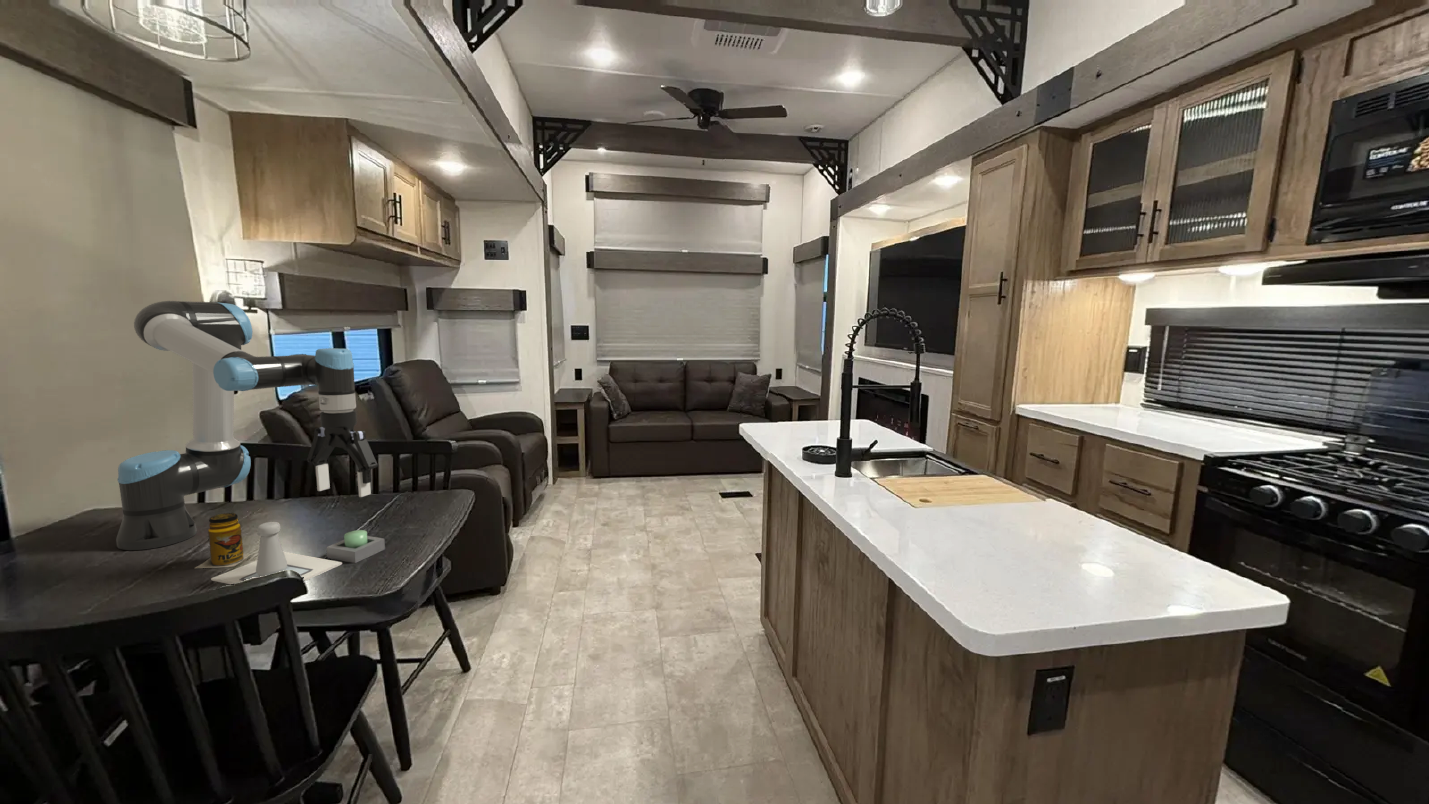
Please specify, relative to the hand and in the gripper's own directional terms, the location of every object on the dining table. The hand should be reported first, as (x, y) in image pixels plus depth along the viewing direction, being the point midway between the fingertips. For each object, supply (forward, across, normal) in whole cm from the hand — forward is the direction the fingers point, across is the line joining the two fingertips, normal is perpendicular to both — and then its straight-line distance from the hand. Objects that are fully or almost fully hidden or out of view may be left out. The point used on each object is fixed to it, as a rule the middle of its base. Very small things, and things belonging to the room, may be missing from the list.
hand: (344, 492), depth 138 cm
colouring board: (+17, -8, -12) cm, 22 cm away
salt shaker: (+17, -6, -15) cm, 23 cm away
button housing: (+17, 0, +2) cm, 18 cm away
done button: (+16, 0, +2) cm, 16 cm away
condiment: (+17, -26, -12) cm, 33 cm away
